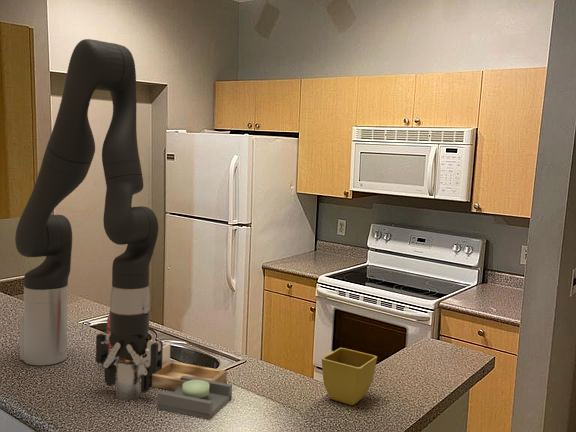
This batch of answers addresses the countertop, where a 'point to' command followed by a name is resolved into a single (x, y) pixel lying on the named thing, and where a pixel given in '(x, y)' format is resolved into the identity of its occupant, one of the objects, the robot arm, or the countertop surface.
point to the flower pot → (348, 374)
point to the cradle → (196, 399)
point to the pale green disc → (195, 388)
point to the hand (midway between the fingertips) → (128, 388)
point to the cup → (164, 355)
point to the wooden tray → (175, 370)
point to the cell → (127, 379)
